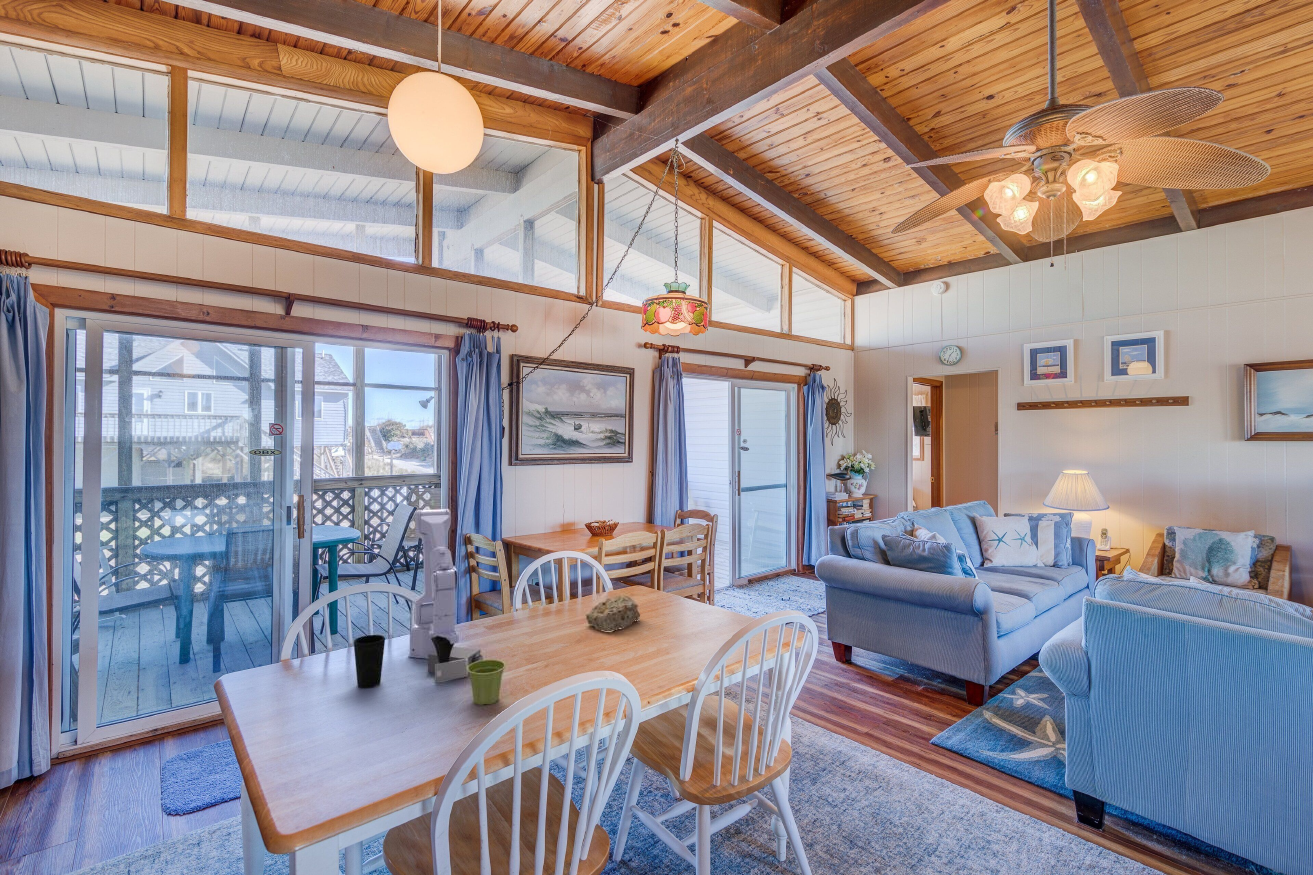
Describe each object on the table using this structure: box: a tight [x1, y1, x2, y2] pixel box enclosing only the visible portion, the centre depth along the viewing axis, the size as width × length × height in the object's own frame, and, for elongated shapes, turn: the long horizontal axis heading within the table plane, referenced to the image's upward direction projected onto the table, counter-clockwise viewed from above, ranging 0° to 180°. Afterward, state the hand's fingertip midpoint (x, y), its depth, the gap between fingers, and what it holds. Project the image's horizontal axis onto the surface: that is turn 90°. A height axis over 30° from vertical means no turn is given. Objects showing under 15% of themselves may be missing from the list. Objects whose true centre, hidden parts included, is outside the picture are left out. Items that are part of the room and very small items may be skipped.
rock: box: [585, 595, 641, 631], centre depth 222 cm, size 21×14×10 cm
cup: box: [353, 634, 386, 689], centre depth 166 cm, size 8×8×12 cm
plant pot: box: [467, 659, 506, 706], centre depth 157 cm, size 9×9×9 cm
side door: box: [434, 659, 469, 684], centre depth 170 cm, size 9×1×5 cm, turn 122°
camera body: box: [427, 646, 484, 676], centre depth 177 cm, size 14×8×6 cm, turn 77°
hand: (443, 662), depth 171 cm, fingers closed
